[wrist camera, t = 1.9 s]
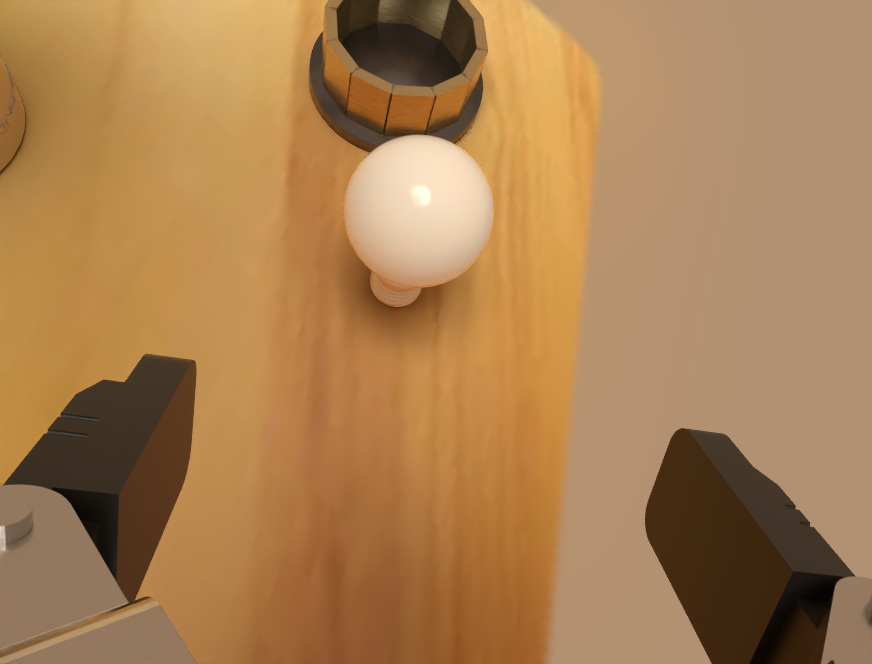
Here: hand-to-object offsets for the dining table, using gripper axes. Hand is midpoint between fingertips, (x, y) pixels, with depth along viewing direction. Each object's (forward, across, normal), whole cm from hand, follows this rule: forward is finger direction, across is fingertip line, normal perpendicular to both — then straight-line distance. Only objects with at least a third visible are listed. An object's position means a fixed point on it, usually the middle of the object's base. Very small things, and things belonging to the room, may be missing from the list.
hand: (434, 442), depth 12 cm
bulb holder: (+35, 0, -3) cm, 35 cm away
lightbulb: (+26, -1, +7) cm, 27 cm away
